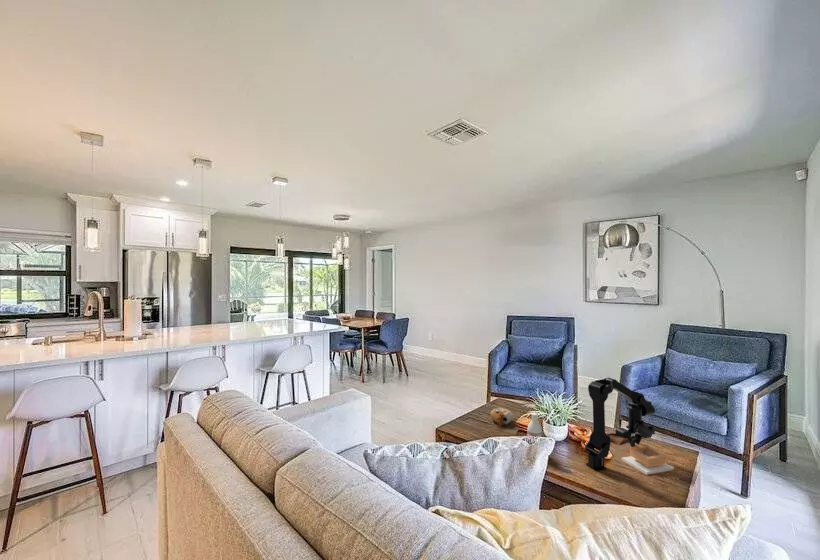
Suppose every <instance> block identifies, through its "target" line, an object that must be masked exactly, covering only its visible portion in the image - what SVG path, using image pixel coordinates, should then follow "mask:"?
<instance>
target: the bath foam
mask: <svg viewBox="0 0 820 560" xmlns="http://www.w3.org/2000/svg"><path fill="white" fill-rule="evenodd" d="M538 415H539V414H538V413H535V412H532V413H531V421H530V422H529V423H528V426H527V428H526V429H527V432H526V437H527V436H542V437H543V435H542V433H543V430H542V427H541V426H542V425H540V423H539V421H538V420H539V419H538Z"/></svg>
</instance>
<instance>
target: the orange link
mask: <svg viewBox="0 0 820 560" xmlns="http://www.w3.org/2000/svg"><path fill="white" fill-rule="evenodd" d="M642 452H648V453H651V454H652V456H650V457H648V456H647V455H645V454H643V453H642ZM629 455H630V456H632V457H634V458H635V459H637V460H638V461H640V462H641V463H643V464H644V465H645V466H647V467H651V466H657V465H663V464H665V463H666V455H664V454H663V453H661V452H660V451H658V450H656V449H655V448H653V447H651V446H649V445H648V444H642V445H640V444H639V445H638V444H636V443H635V447H631V445H630V444H629Z"/></svg>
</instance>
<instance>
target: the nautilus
mask: <svg viewBox="0 0 820 560" xmlns="http://www.w3.org/2000/svg"><path fill="white" fill-rule="evenodd" d="M490 415H491V418H492V420H494V422H495V423H496V424H494V426H495V428H500V427H501V426H503V425H508V424H509V423H510V422H511V421H512V420H513V418H514V415H515V414H514V413H513V412H512V411H510V410H509V409H508V408H503V407H496V408H493V409H492V410H491V411H490Z"/></svg>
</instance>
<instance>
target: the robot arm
mask: <svg viewBox="0 0 820 560" xmlns="http://www.w3.org/2000/svg"><path fill="white" fill-rule="evenodd" d="M587 388H588V389H587V391H588V395H589V397H590V399H591V401H592V422H593V423H592V425H593V426H592V427H593V429H592V430H593V431H591V433H590V435H589V440H588V442H587V443H586V445H585V446H584V450H585V451H586V452H588V455H587V456H588V459H587V460H588V462H586V463H585V465H586V466H588V467H589V468H591V469H592V470H594V471H595V472H597V471H598V472H599V471H602V470H607V469H608V468H607V467H606V466H605V464H606V463H605V462H606V461H605V458H607V457H608V455H609V453H610V448H611V445H612V443H611V442H610V436H608V435H607V433H606V416H605V408H606V407H605V402H606V401H607V400H608V398H609V394H611V393H613V391H616V392H617V393H618V394H621V395H622V396H623V398H624V399H625V400H626V401H627V402H629V403H628V404H626V406H625V407H624V408H625V409H627V410H628V411H627V412H628V415H627V416H626V418H625V419H626V420H627V424H628V425H626V426H625V428H624V427H619V428H616V429H615V431H616V434H617V435H619V436H621V437H623V438H627V439H628V441H627V442H628V443H629V446H630V445H631V447H635V443H636V444H638V445H640V443H641V441H642V439H649V438H650V439H651V438H652V437H653V435H655V434H656V433H655V432H656V429H655V426H653V425H646V423H645V421H644V420H643V419H642V418H643V417H647V416H648V417H649V416H652V415H654V414H655V413H656V408H655V407H654V405H653V404H652V401H649V400H647V399H646V398H645V395H644V394H643V393H641V392H638V391H635V390H632V389H630V388H629V387H627V386H626V385H624V384H622V383H621V382H620V381H618V380H617V379H615V378H611V377H605V378H603V379H602V378H601V379H598V380H595V381H591V382H590V383H589V384H588V386H587ZM631 403H632V404H631Z"/></svg>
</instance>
